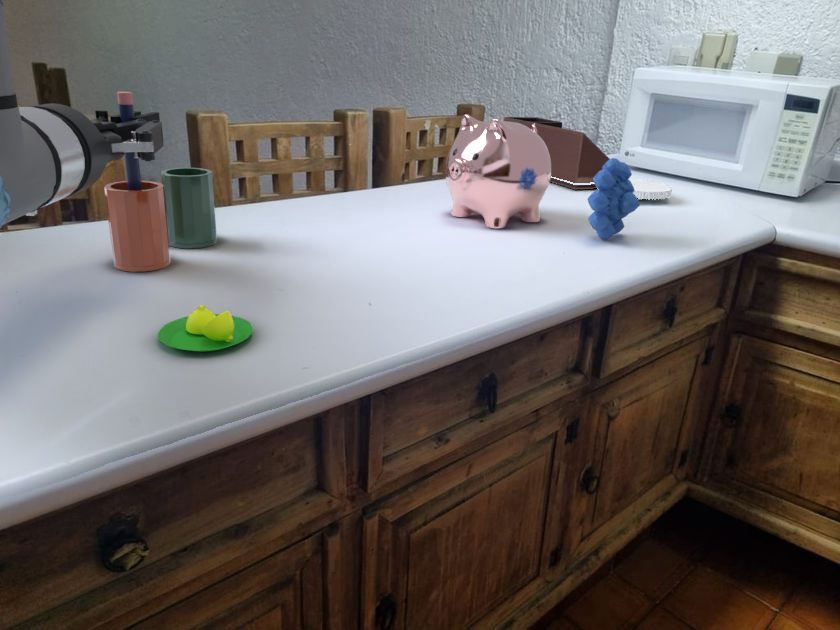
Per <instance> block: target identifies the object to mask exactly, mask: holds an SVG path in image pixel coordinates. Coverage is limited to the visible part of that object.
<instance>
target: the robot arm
mask: <svg viewBox="0 0 840 630" xmlns="http://www.w3.org/2000/svg"><path fill="white" fill-rule="evenodd" d="M4 5H5V2H4V0H0V228H2V226H3V225H6V224H9V223H10V222H12V221H15V220H17V219H18V218H20V217H23V216H27V217H34V216H36V215H37V214H38V210H39V209H42V208H44V207H47V206H49V205H51V204H53V203H55V202H58V201H60V200H63V199H66V198H69V197H71V196H73V195H75V194H79V193H80V192H83V191H85V190H87V189H89V188H91V187H92V186H93V185H95V184H96V183H97V182H98V181H99V179H100V178H101V176H102V175H103V173H104V171H105V168H106V166H107V165H108V163H110V162H114V161H119V160H121V159H123V158H124V152H133V157H134V158H139V160H141V161H145V162H152V161H154V160H156V156H155V154H156V153H157V152H159V151H160V150H161V149H162V148H163V147H164V146H165V145H164V132H163V123H162V122H163V121H161V118H160V111H159V112H157V111H152V112H147V113H144V114H142V111H138V110H134V117H131V118H130V121H128V122H123V123H121V122H120V113H119V114H116V115H111V116H109V113H108V110H100V109H99V110H98V109H97V110H95V111H94V112H95V118H92V119H89V118H88V117H87V116H86V115H85V114H84V113H82V112H81V111H79V110H77V109H75V108H74V107H71V106H69V105H65V104H61V103H43V104H35V105H30V106H19V105H18V98H17V93H16V92H15V86H14V79H13V70H12V64H11V56H10V47H9V41H8V40H9V39H8V34H7V26H6V25H7V24H6V19H5V11H4V10H5V9H4ZM109 117H110V118H109Z"/></svg>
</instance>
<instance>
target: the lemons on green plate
mask: <svg viewBox="0 0 840 630" xmlns="http://www.w3.org/2000/svg"><path fill="white" fill-rule="evenodd" d="M253 327H254V326H253V325H252V324H251V322H249V321H248V320H246V319H244V318H242V317H238V316H235V315H232V314H231V313H230V311H229V310H226V311H223V312H221V313H214V312H213V310H210V309H208V308H207V307H206V306H205V305H204V304H200V305H198V306H197V308H195V310H193V311H192V312H191V313H190V314H189V315H188V316H185V317H181V318H178V319H174V320H172V321H170V322H168V323H166V324H165V325H163V326H162V327H161V328H159V330H158V332H157V338H158V340H159V341H160V342H161V344H163V345H164V346H167V347H170V348H173V349H178V350H182V351H187V352H193V353H194V352H197V353H205V352H216V351H220V350H225V349H227V348H230V347H232V346H235V345H237V344H238V345H239V344H240V343H241V342H245V340H247V339H248V338H250V336H251V335H252V334H253V332H254V328H253Z"/></svg>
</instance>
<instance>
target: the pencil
mask: <svg viewBox="0 0 840 630" xmlns="http://www.w3.org/2000/svg"><path fill="white" fill-rule="evenodd" d="M116 94H117V97H116V98H117V104H118V112H119V114H120V122H121V123H123V122H128V121H130V118H131V117H134V111H135V110H134V109H135V108H134V99H133V92H132V91H117V92H116ZM123 158H124V165H125V174H126V175H125V176H126V181H127V184H128V190H142V186H141V181H142V177H141V168H140V167H141V166H140V158H134V157H133V152H124V156H123Z"/></svg>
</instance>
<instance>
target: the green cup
mask: <svg viewBox="0 0 840 630" xmlns="http://www.w3.org/2000/svg"><path fill="white" fill-rule="evenodd" d="M160 178H161V179H160V180H161V184H163V185H164V190H165V201H166V212H167V223H168V234H169V245H170V247H173V248H177V249H187V250H188V249H201V248H208V247H211V246H213V245H216V243H217V221H216V220H217V219H216V206H215V205H216V204H215V187H214V174H213V171H212V170H210V169H207V168H202V167H173V168H167V169H164V170H161V171H160Z"/></svg>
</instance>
